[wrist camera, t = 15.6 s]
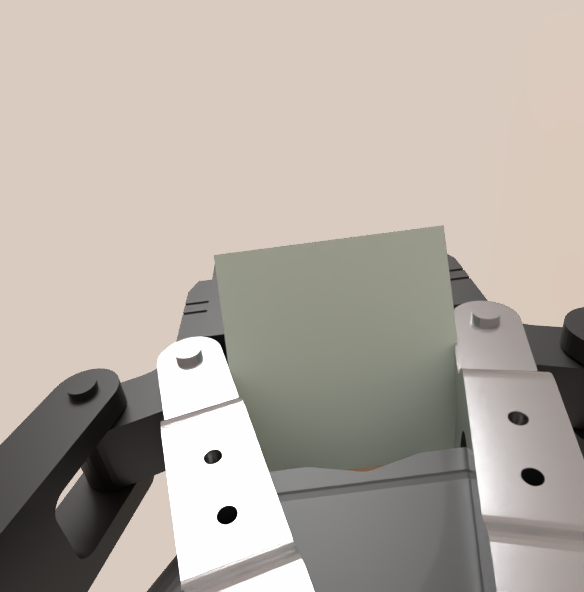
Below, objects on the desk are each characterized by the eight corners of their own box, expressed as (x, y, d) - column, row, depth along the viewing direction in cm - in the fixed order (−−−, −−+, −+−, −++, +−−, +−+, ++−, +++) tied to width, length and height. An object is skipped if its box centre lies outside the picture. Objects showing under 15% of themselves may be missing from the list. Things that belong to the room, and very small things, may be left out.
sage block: (471, 454, 9) (443, 225, 8) (243, 482, 9) (213, 255, 8) (339, 328, 35) (331, 271, 34) (282, 335, 35) (275, 279, 34)
